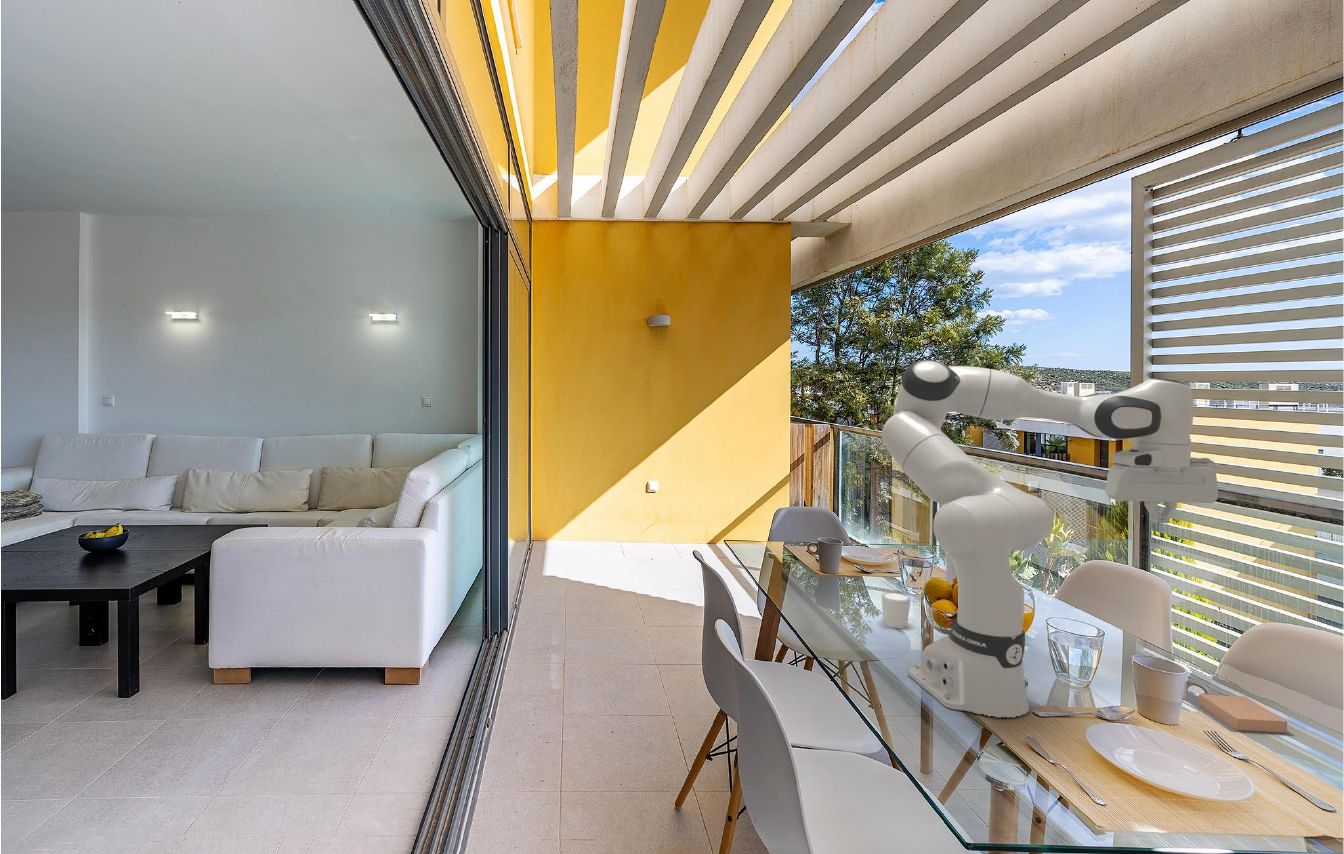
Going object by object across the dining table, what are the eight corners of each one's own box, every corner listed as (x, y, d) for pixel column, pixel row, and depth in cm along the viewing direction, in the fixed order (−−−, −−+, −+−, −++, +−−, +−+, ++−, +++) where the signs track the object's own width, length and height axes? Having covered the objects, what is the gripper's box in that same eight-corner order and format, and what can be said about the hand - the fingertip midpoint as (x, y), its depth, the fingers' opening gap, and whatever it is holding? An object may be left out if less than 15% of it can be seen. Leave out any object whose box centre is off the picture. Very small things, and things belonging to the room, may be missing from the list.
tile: (1199, 693, 120) (1236, 718, 111) (1245, 696, 119) (1287, 721, 110) (1198, 705, 120) (1236, 730, 111) (1244, 707, 120) (1286, 733, 111)
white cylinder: (906, 631, 157) (907, 602, 156) (877, 625, 161) (878, 597, 160) (912, 622, 163) (913, 595, 162) (884, 617, 166) (885, 590, 166)
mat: (1173, 695, 125) (1173, 691, 125) (1228, 698, 125) (1228, 694, 125) (1230, 735, 111) (1231, 731, 111) (1294, 739, 110) (1294, 734, 110)
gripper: (1205, 456, 138) (1201, 521, 138) (1103, 454, 139) (1100, 518, 140) (1228, 459, 131) (1223, 527, 132) (1121, 457, 133) (1117, 524, 134)
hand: (1159, 522), depth 136 cm, fingers closed
